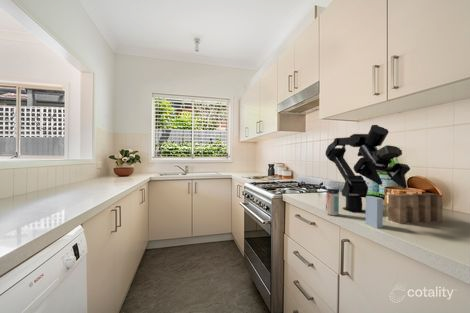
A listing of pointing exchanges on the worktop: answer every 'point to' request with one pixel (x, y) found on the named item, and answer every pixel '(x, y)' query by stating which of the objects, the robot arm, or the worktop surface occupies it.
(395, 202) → the domino
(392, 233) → the worktop surface
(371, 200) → the slate domino
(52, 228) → the worktop surface
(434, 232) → the worktop surface
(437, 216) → the domino
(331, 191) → the beer can
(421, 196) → the domino
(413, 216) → the domino
